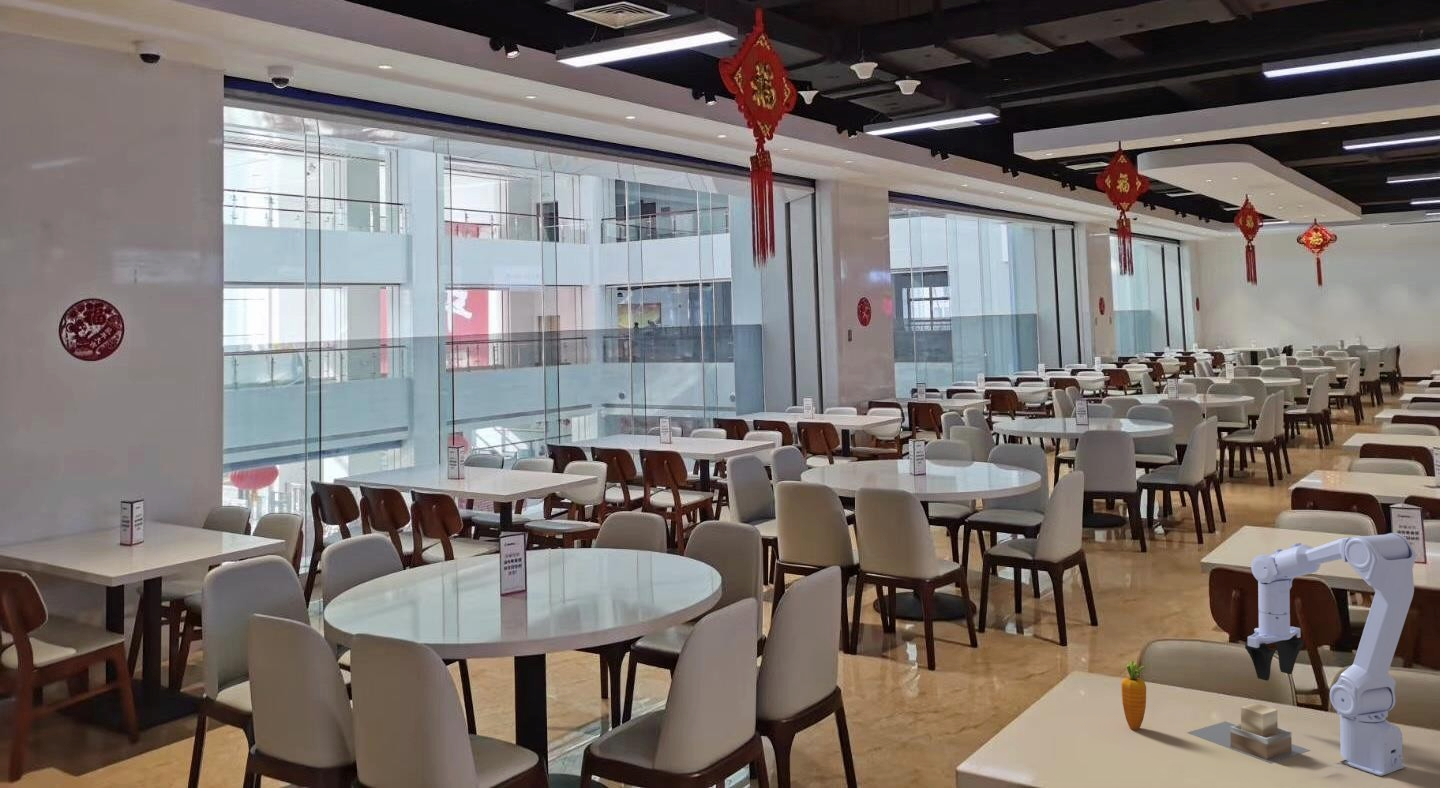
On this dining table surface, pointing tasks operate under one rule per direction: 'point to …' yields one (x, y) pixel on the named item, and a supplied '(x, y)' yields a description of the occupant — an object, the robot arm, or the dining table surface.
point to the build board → (1222, 737)
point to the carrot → (1134, 697)
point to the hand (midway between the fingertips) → (1274, 676)
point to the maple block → (1259, 720)
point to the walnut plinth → (1261, 743)
